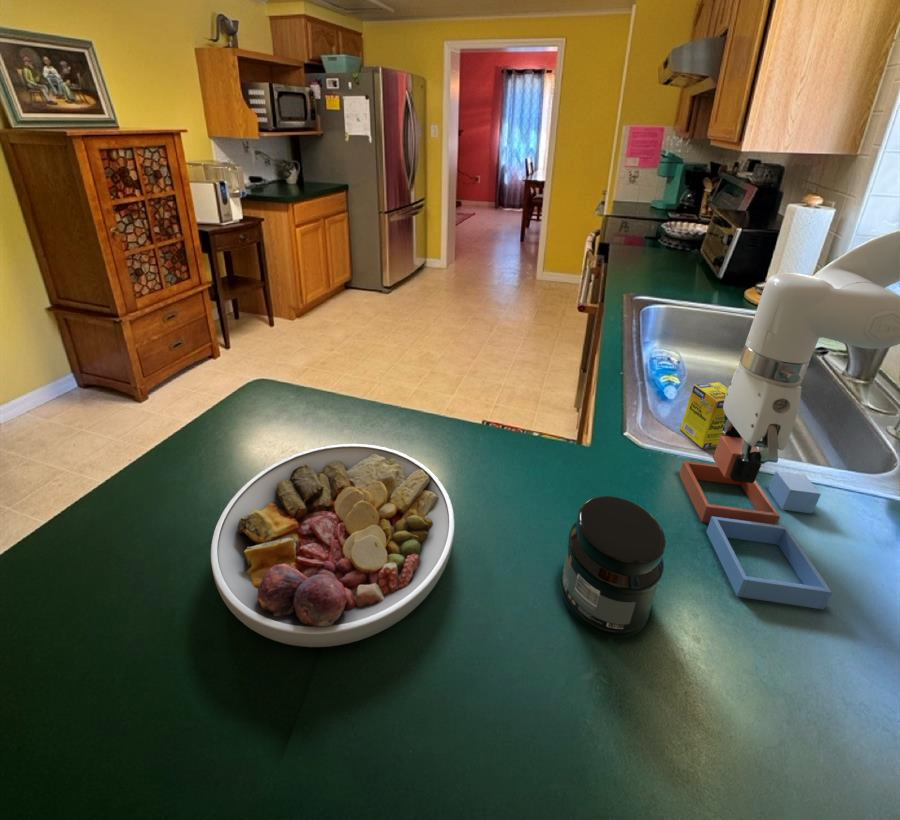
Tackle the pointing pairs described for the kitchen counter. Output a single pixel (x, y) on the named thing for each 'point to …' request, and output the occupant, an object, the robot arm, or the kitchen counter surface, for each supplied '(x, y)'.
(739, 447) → the terracotta block
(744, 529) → the blue bin
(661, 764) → the kitchen counter surface
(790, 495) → the blue block
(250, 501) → the bowl
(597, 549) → the supplement container
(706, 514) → the terracotta bin
